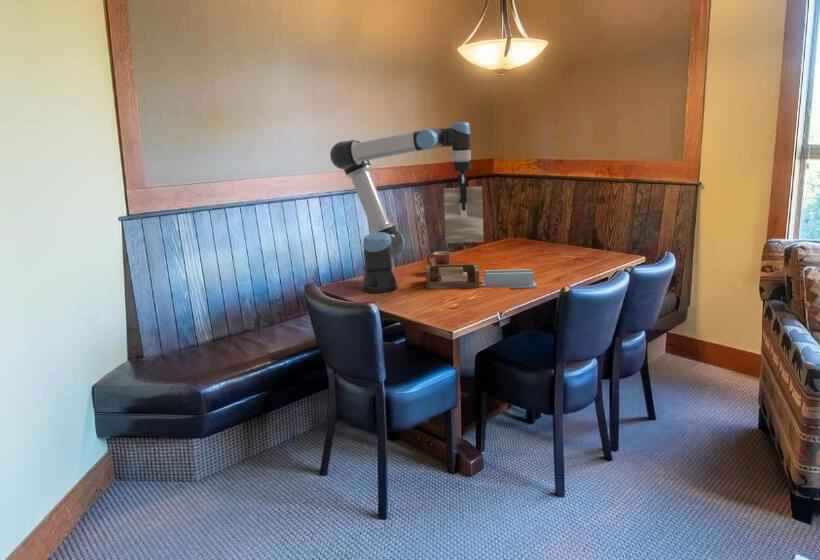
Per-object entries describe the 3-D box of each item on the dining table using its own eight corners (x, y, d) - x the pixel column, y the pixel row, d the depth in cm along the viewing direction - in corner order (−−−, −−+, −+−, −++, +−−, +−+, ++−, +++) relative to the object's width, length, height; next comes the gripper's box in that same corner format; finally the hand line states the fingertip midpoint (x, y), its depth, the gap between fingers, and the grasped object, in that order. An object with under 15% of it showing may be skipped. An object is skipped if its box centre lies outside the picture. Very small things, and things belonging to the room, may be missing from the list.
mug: (455, 273, 285) (454, 251, 283) (448, 277, 278) (447, 255, 275) (431, 271, 290) (431, 250, 288) (424, 276, 283) (423, 254, 280)
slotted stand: (481, 282, 267) (481, 269, 265) (532, 281, 266) (532, 268, 264) (483, 288, 257) (483, 275, 256) (536, 287, 256) (536, 273, 255)
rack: (426, 282, 270) (426, 265, 268) (477, 281, 269) (476, 263, 267) (426, 291, 257) (426, 272, 255) (479, 290, 256) (479, 271, 254)
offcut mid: (441, 278, 262) (441, 272, 262) (466, 277, 262) (466, 272, 261) (441, 281, 258) (441, 275, 257) (467, 280, 257) (467, 275, 257)
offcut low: (438, 284, 263) (438, 278, 263) (466, 283, 263) (466, 278, 262) (438, 287, 258) (438, 281, 258) (466, 286, 258) (466, 280, 257)
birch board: (445, 242, 262) (443, 188, 257) (483, 240, 261) (481, 186, 256) (445, 243, 260) (443, 188, 255) (483, 241, 259) (482, 186, 254)
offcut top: (438, 273, 262) (438, 267, 261) (462, 272, 262) (462, 266, 261) (439, 275, 257) (439, 270, 256) (463, 275, 257) (463, 269, 256)
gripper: (452, 160, 260) (454, 215, 266) (453, 162, 246) (455, 220, 251) (469, 159, 260) (471, 214, 265) (472, 161, 245) (473, 219, 251)
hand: (463, 217), depth 258 cm, fingers closed on birch board, 2 cm apart
